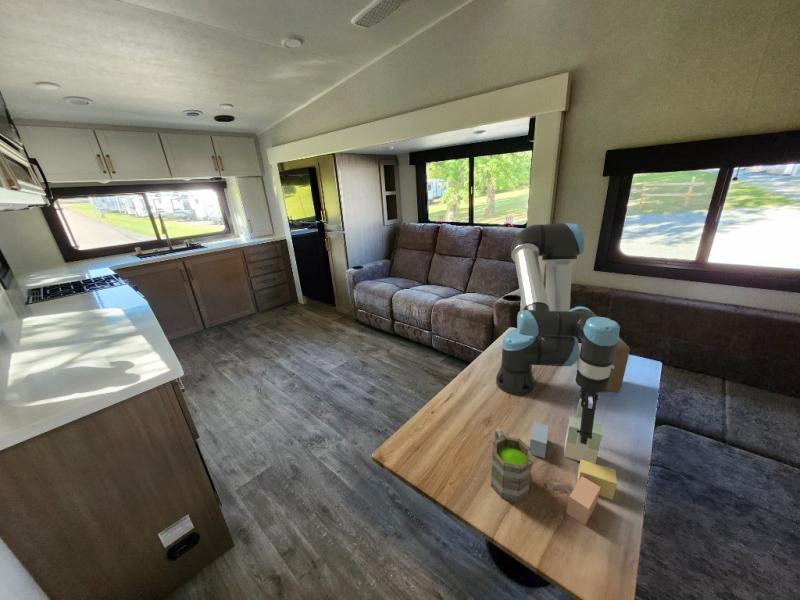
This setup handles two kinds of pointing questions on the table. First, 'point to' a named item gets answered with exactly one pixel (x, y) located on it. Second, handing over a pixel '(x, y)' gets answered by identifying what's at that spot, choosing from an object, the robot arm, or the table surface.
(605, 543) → the table surface
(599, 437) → the sage brick
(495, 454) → the mug
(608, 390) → the wooden block
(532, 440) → the slate brick
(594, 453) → the cream brick
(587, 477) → the ochre brick
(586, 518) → the terracotta brick
